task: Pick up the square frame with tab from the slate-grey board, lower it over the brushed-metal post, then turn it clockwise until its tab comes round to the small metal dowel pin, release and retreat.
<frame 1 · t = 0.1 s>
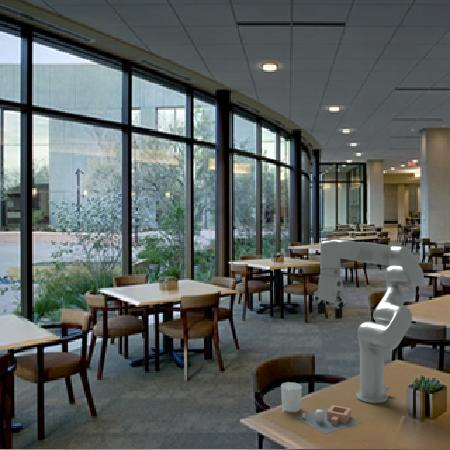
hand: (329, 316, 185), 37 cm above the table, tool pointing down, fingers open, 9 cm apart
board: (328, 422, 174), on the table
white cup: (291, 412, 184), on the table
square frame with tab: (335, 423, 170), point 1 cm above the table, touching board
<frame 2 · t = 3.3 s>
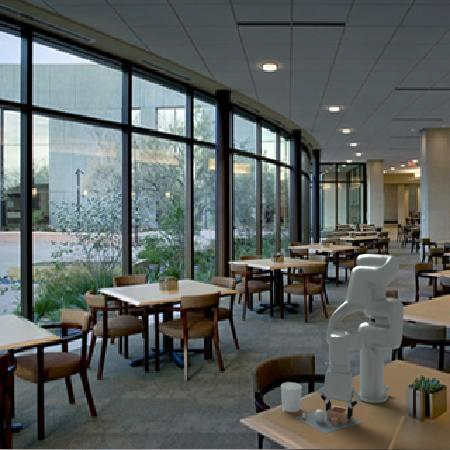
hand: (339, 415, 175), 2 cm above the table, tool pointing down, fingers closed on square frame with tab, 7 cm apart
square frame with tab: (335, 423, 170), point 1 cm above the table, touching board, gripper
everything else where it was.
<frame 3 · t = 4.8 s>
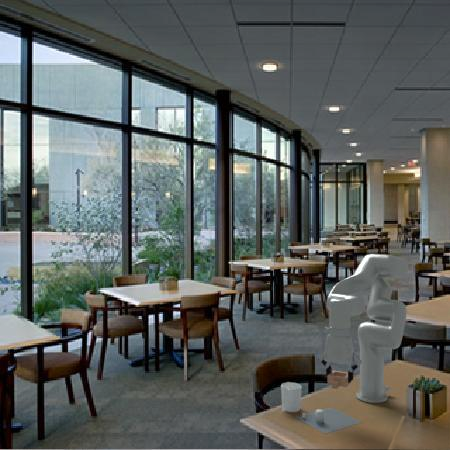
hand: (339, 379, 175), 15 cm above the table, tool pointing down, fingers closed on square frame with tab, 7 cm apart
square frame with tab: (335, 386, 170), point 14 cm above the table, touching gripper
everything else where it was.
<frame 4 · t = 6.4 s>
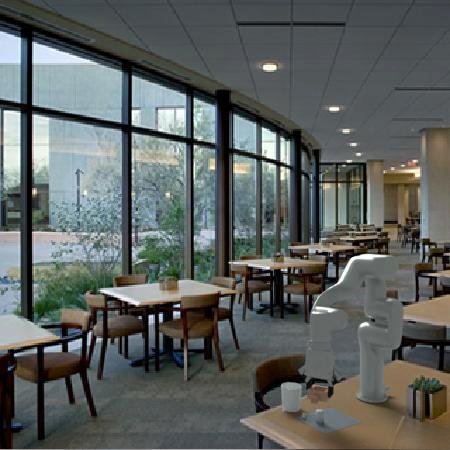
hand: (319, 394, 171), 11 cm above the table, tool pointing down, fingers closed on square frame with tab, 7 cm apart
square frame with tab: (315, 401, 167), point 10 cm above the table, touching gripper
everything else where it was.
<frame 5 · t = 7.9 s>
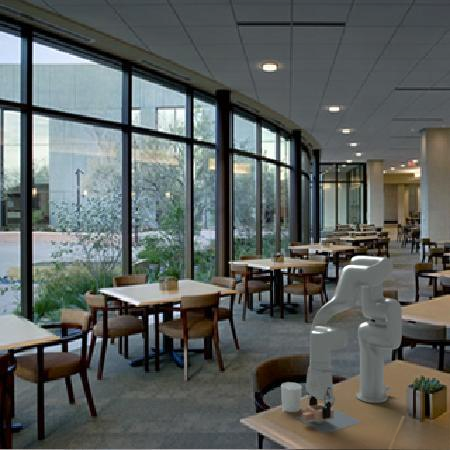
hand: (319, 413, 171), 4 cm above the table, tool pointing down, fingers closed on square frame with tab, 7 cm apart
square frame with tab: (307, 419, 169), point 3 cm above the table, touching gripper
everything else where it was.
when the fingers open (3 cm above the table, at t = 9.5 s): square frame with tab stays where it is, resting on board.
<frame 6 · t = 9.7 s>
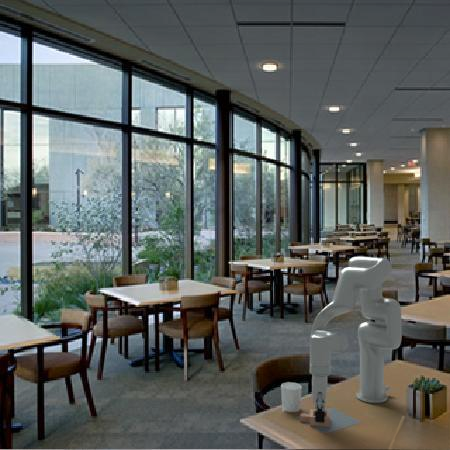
hand: (319, 416, 171), 3 cm above the table, tool pointing down, fingers open, 9 cm apart
square frame with tab: (305, 420, 173), point 1 cm above the table, touching board
everything else where it was.
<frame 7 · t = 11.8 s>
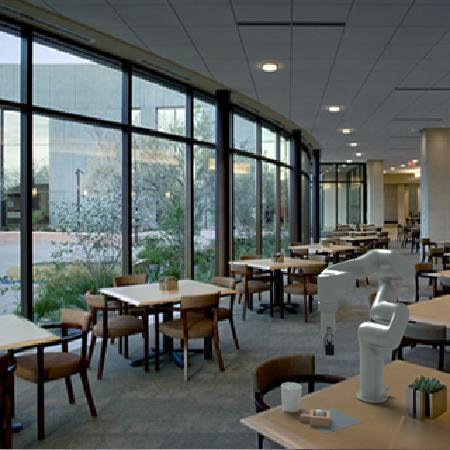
hand: (329, 351, 180), 24 cm above the table, tool pointing down, fingers open, 9 cm apart
nothing on the table moved.
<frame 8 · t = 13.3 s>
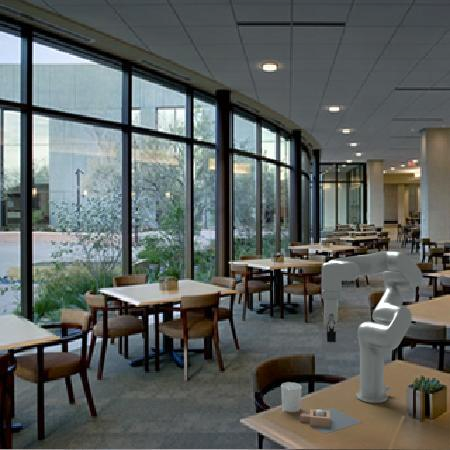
hand: (331, 338, 183), 28 cm above the table, tool pointing down, fingers open, 9 cm apart
nothing on the table moved.
at the end: square frame with tab 0.0 cm from the target spot, point 1.2 cm above the table; square frame with tab tilted 0°; the gripper is holding nothing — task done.
